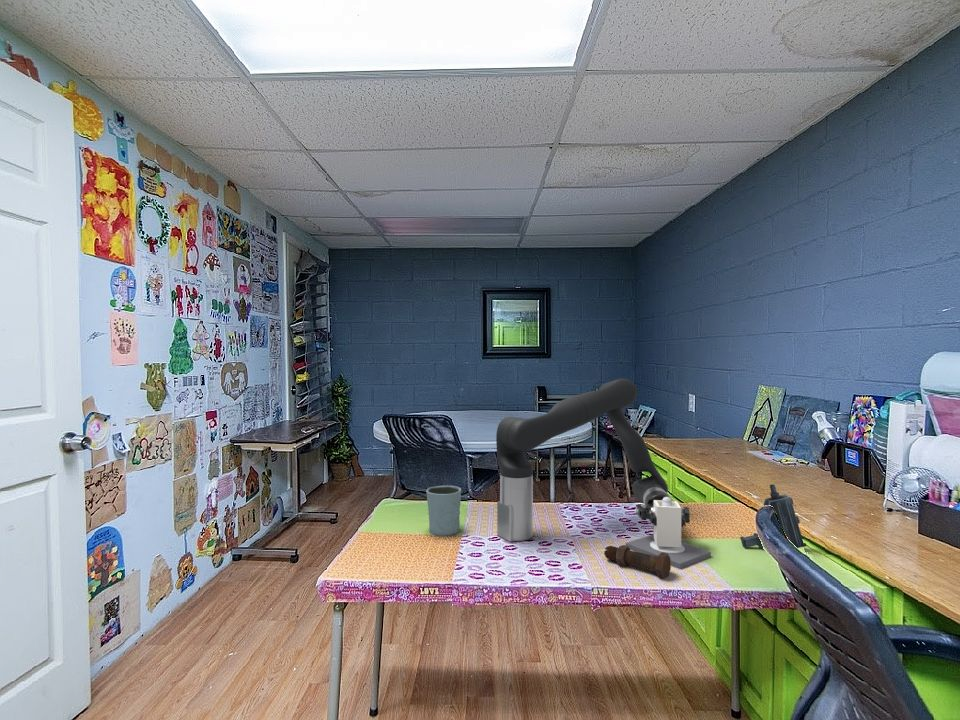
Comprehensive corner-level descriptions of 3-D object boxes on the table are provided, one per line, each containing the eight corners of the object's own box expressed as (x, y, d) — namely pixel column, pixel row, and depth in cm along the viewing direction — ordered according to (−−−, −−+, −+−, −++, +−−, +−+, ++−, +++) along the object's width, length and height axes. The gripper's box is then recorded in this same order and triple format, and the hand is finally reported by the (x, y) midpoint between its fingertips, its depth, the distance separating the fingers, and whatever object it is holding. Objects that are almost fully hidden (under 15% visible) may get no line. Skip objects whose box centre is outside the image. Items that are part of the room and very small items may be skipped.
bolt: (608, 565, 123) (668, 581, 113) (599, 561, 120) (660, 577, 110) (613, 542, 125) (672, 556, 115) (604, 537, 122) (665, 550, 112)
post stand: (679, 568, 117) (679, 509, 117) (625, 547, 130) (625, 493, 130) (710, 556, 124) (710, 500, 124) (656, 537, 137) (656, 486, 137)
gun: (727, 493, 132) (784, 480, 130) (744, 554, 131) (801, 542, 130) (731, 496, 129) (789, 482, 128) (748, 558, 129) (807, 545, 127)
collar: (681, 547, 124) (681, 507, 124) (657, 545, 125) (657, 506, 125) (676, 539, 129) (676, 501, 129) (653, 537, 130) (653, 500, 130)
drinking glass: (452, 538, 136) (452, 495, 136) (420, 534, 140) (420, 492, 140) (466, 527, 146) (466, 486, 146) (435, 523, 149) (435, 483, 149)
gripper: (632, 488, 142) (639, 506, 126) (684, 491, 140) (699, 509, 123) (632, 514, 142) (639, 535, 126) (684, 517, 140) (699, 539, 123)
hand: (668, 522), depth 125 cm, fingers closed on collar, 5 cm apart
